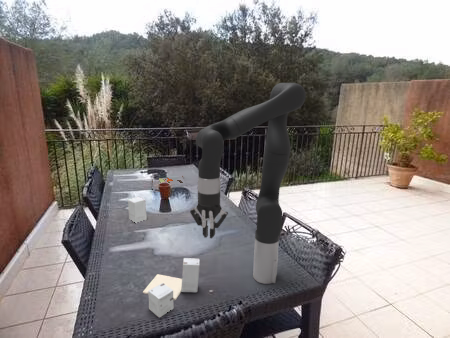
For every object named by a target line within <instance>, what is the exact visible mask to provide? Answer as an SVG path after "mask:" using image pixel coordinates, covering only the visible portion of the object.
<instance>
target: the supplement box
mask: <svg viewBox="0 0 450 338" xmlns="http://www.w3.org/2000/svg"><path fill="white" fill-rule="evenodd" d="M146 201H147V200H146V199H145V198H142V197H140V196H135V197H133V198H130V199H127V209H128V220H129V219H130V220H132V221H133V222H132V221H131V222H132V223H134V222H135V223H136V224H138V223H137V222H139V223H141V222H140V221H142V222H144V221H143V220H145V221H147V220H148V219H147V202H146ZM130 220H129V221H130ZM135 223H134V224H135Z"/></svg>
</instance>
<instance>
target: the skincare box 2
mask: <svg viewBox="0 0 450 338" xmlns="http://www.w3.org/2000/svg"><path fill="white" fill-rule="evenodd" d="M182 261H183V262H182V276H181V279H182V288H181V293H198V286H199V277H200V258H193V257H191V258H190V257H183V260H182Z"/></svg>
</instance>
